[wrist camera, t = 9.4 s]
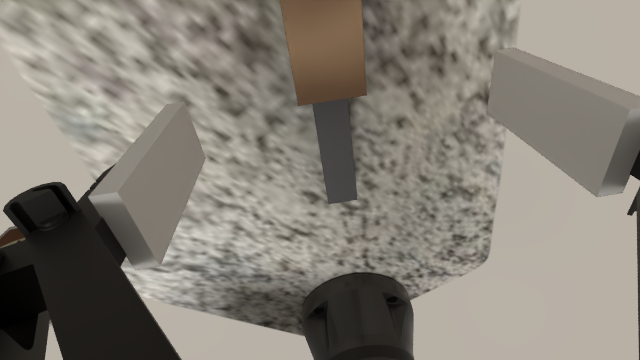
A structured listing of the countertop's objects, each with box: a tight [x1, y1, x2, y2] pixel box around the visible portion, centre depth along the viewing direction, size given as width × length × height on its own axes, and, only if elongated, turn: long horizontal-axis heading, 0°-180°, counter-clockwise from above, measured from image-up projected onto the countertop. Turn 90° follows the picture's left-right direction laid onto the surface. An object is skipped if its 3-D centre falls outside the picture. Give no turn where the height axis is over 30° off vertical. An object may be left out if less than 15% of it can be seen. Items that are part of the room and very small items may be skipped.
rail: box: [313, 98, 357, 204], centre depth 29 cm, size 17×3×4 cm, turn 8°
